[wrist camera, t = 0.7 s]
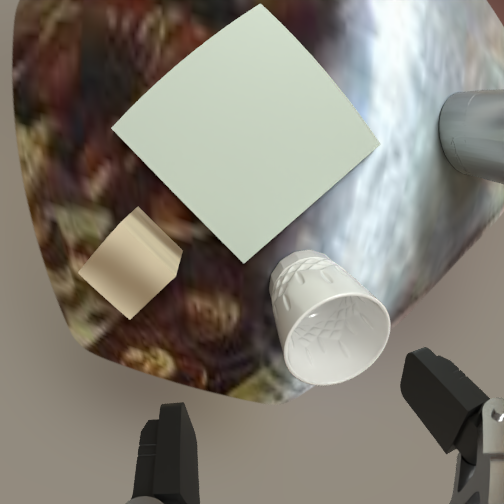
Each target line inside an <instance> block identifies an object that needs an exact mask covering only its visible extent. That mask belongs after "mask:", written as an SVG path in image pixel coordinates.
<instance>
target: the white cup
mask: <svg viewBox="0 0 504 504" xmlns="http://www.w3.org/2000/svg"><path fill="white" fill-rule="evenodd" d="M269 292H270V296H271V300H272V309H273V313H274V318H275V323H276V328H277V331H278V335H279V339H280V343H281V347H282V351H283V355H284V360H285V363H286V366H287V368H288V369H289V371H290V372H291V373H292V375H293V376H295V377H296V378H297V379H299V380H300V381H302V382H305V383H308V384H311V385H318V386H327V385H334V384H339V383H342V382H345V381H348V380H350V379H352V378H354V377H356V376H358V375H359V374H361V373H362V372H364V371H365V370H366V369H367V368H369V367H370V366H371V365H372V364H373V363H374V362H375V361H376V360H377V358H378V357H379V356H380V355H381V353H382V352H383V350H384V348H385V346H386V344H387V341H388V338H389V334H390V317H389V314H388V312H387V310H386V308H385V307H384V305H383V304H382V303H381V302H380V301H379V300H378V299H377V298H376V297H375V296H373V295H372V294H371V293H370V292H369V291H368V290H367V289H366V288H365V287H364V286H363V285H362V284H360V283H359V282H358V281H357V280H356V279H355V278H354V277H353V276H351V275H350V274H349V273H348V272H347V271H345V270H344V269H343V268H342V267H341V266H339V265H337V264H336V263H334V262H333V261H332V260H331V259H330V258H329V257H327V256H326V255H325V254H323V253H320V252H317V251H313V250H304V251H298V252H293V253H292V254H290V255H289V256H287V257H286V258H284V259H282V260H281V261H280V262H279V263H278V265H277V266H276V268H275V269H274V271H273V272H272V274H271V278H270V285H269Z"/></svg>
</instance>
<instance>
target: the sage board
mask: <svg viewBox="0 0 504 504" xmlns="http://www.w3.org/2000/svg"><path fill="white" fill-rule="evenodd" d="M111 129H112V130H113V131H114V132H115V133H116V134H117V135H118V136H119V137H120V138H121V139H122V140H123V141H124V142H125V143H126V144H127V145H128V146H129V147H130V148H131V149H132V150H133V151H134V152H135V153H136V155H137V156H138V157H139V158H140V159H141V160H142V161H143V162H144V163H145V164H146V165H147V166H148V167H149V168H150V169H151V170H152V171H153V172H154V173H155V174H156V175H157V176H158V177H159V178H160V179H161V180H162V181H163V182H164V183H165V184H166V185H167V186H168V187H169V189H170V190H171V191H172V192H173V193H174V194H175V195H176V196H177V197H178V198H179V199H180V200H181V201H182V202H183V203H184V204H185V205H186V206H187V207H188V208H189V209H190V210H191V211H192V212H193V213H194V214H195V215H196V216H197V217H198V218H199V219H200V220H201V221H202V222H203V223H204V224H205V225H206V226H207V227H208V228H209V229H210V230H211V231H212V232H213V233H214V234H215V235H216V236H217V237H218V238H219V239H220V240H221V241H222V242H223V243H224V244H225V245H226V246H227V247H228V248H229V249H230V250H231V251H232V252H233V253H234V254H235V255H236V256H237V257H238V258H239V259H240V260H241V261H242V262H243V263H245V262H246V261H248V260H249V259H250V258H251V257H252V256H253V255H254V254H256V253H257V252H258V251H259V250H260V249H261V248H262V247H264V246H265V245H266V244H267V243H268V242H269V241H270V240H272V239H273V238H274V237H275V236H276V235H277V234H278V233H280V232H281V231H282V230H283V229H284V228H285V227H287V226H288V225H289V224H290V223H291V222H292V221H293V220H295V219H296V218H297V217H298V216H299V215H300V214H301V213H303V212H304V211H305V210H306V209H307V208H308V207H309V206H311V205H312V204H313V203H314V202H315V201H316V200H317V199H319V198H320V197H321V196H322V195H323V194H324V193H325V192H327V191H328V190H329V189H330V188H331V187H332V186H333V185H335V184H336V183H337V182H338V181H339V180H340V179H341V178H343V177H344V176H345V175H346V174H347V173H348V172H349V171H351V170H352V169H353V168H354V167H355V166H356V165H357V164H358V163H360V162H361V161H362V160H363V159H364V158H365V157H366V156H368V155H369V154H370V153H371V152H372V151H373V150H374V149H376V148H377V147H378V146H379V145H380V143H379V141H378V140H377V138H376V137H375V136H374V134H373V133H372V131H371V130H370V128H369V127H368V126H367V124H366V123H365V121H364V120H363V119H362V117H361V116H360V115H359V113H358V112H357V111H356V109H355V108H354V107H353V105H352V104H351V103H350V101H349V100H348V99H347V97H346V96H345V95H344V94H343V92H342V91H341V90H340V89H339V87H338V86H337V85H336V84H335V82H334V81H333V80H332V79H331V78H330V76H329V75H328V74H327V73H326V72H325V70H324V69H323V68H322V67H321V66H320V65H319V63H318V62H317V61H316V60H315V59H314V58H313V57H312V55H311V54H310V53H309V52H308V51H307V50H306V49H305V48H304V47H303V46H302V44H301V43H300V42H299V41H298V40H297V39H296V38H295V37H294V36H293V35H292V34H291V33H290V32H289V31H288V30H287V29H286V28H285V27H284V26H283V25H282V24H281V23H280V22H279V21H278V20H277V19H276V18H275V17H274V16H273V15H272V14H271V13H270V12H269V11H268V10H267V9H266V8H265V7H264V6H263V5H261V4H259V5H258V6H256V7H254V8H253V9H251V10H250V11H248V12H247V13H245V14H244V15H242V16H241V17H239V18H238V19H236V20H235V21H233V22H232V23H231V24H229V25H228V26H226V27H225V28H223V29H222V30H221V31H219V32H218V33H217V34H215V35H214V36H213V37H211V38H210V39H209V40H207V41H206V42H205V43H203V44H202V45H201V46H200V47H198V48H197V49H196V50H195V51H193V52H192V53H191V54H190V55H188V56H187V57H186V58H185V59H183V60H182V61H181V62H180V63H179V64H178V65H176V66H175V67H174V68H173V69H172V70H171V71H169V72H168V73H167V74H166V75H165V76H164V77H163V78H162V79H160V80H159V81H158V82H157V83H156V84H155V85H154V86H153V87H152V88H151V89H150V90H149V91H148V92H146V93H145V94H144V95H143V96H142V97H141V98H140V99H139V100H138V101H137V102H136V103H135V104H134V105H133V106H132V107H131V108H130V109H129V110H128V111H127V112H126V113H125V114H124V115H123V116H122V117H121V118H120V120H119V121H118V122H117V123H116V124H115V125H114V126H113V127H112V128H111Z"/></svg>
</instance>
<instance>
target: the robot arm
mask: <svg viewBox="0 0 504 504" xmlns="http://www.w3.org/2000/svg"><path fill="white" fill-rule="evenodd" d="M439 132H440V140H441V144H442V148H443V150H444V153H445V155H446V157H447V159H448V160H449V162H450V163H451V165H452V166H453V167H454V168H455V169H456V170H458V171H459V172H461V173H464V174H468V175H472V176H476V177H480V178H483V179H487V180H490V181H494V182H498V183H501V184H504V90H480V91H470V92H458V93H455V94H453V95H451V96H450V97H449V98H448V99H447V101H446V102H445V104H444V106H443V108H442V111H441V115H440V121H439ZM400 387H401V392H402V395H403V397H404V399H405V400H406V401H407V403H408V404H409V405H410V407H411V408H412V409H413V410H414V412H415V413H416V414H417V416H418V417H419V418H420V419H421V421H422V422H423V424H424V425H425V426H426V428H427V429H428V430H429V431H430V433H431V434H432V435H433V437H434V438H435V439H436V441H437V442H438V443H439V445H440V446H441V447H442V449H443V450H444V452H445V453H446V454H448V453H450V452H451V451H453V450H455V449H458V450H459V454H458V456H457V464H456V473H455V481H454V488H453V495H452V498H451V501H450V503H449V504H504V399H503V398H493V399H490V398H489V397H488V396H486V394H485V393H484V392H483V391H482V390H481V389H479V388H478V387H477V386H476V385H475V384H474V383H473V382H472V381H471V380H470V379H469V378H468V377H466V376H465V374H464V373H463V372H462V371H461V370H460V371H459V368H458V367H457V366H455V365H454V364H453V363H452V362H451V361H450V360H448V359H445V358H443V357H441V356H436V355H435V354H434V353H433V352H432V351H431V350H430V349H428V348H426V347H424V348H421V349H419V350H416V351H413V352H411V353H408V354H407V356H406V359H405V364H404V369H403V374H402V379H401V384H400ZM139 445H140V446H139V449H138V457H137V464H136V472H135V481H134V490H133V495H132V498H131V500H130V501H128V502H127V503H126V504H200V498H199V479H198V457H197V441H196V436H195V432H194V428H193V426H192V423H191V421H190V418H189V415H188V412H187V410H186V407H185V404H184V403H183V402H182V403H171V404H162V405H161V407H160V415H159V420H148V422H147V423H146V425H145V426H144V428H143V429H142V431H141V436H140V442H139Z"/></svg>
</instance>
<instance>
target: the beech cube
mask: <svg viewBox="0 0 504 504" xmlns="http://www.w3.org/2000/svg"><path fill="white" fill-rule="evenodd" d="M182 252H183V250H182V249H181V248H180V247H179V246H178V245H176V244H175V243H174V242H173V241H172V240H171V239H170V238H169V237H168V236H167V235H166V234H165V233H164V232H163V231H162V230H161V229H160V228H159V227H158V226H157V225H156V224H155V223H154V222H153V221H152V220H151V219H150V218H149V217H148V216H147V215H146V214H145V213H144V212H143V211H142V210H141V209H140V208H139V207H137V208H136V209H135V210H134V211H133V212H131V213H130V214H129V215H128V216H127V217H126V218H125V219H124V220H123V221H122V222H121V223H120V224H119V225H118V226H117V227H116V228H115V229H114V230H113V232H112V233H111V234H110V235H109V236H108V237H107V238H106V240H105V241H104V242H103V243H102V244H101V245H100V247H99V248H98V249H97V250H96V251H95V252H94V254H93V255H92V256H91V257H90V258H89V260H88V261H87V262H86V263H85V265H84V266H83V267H82V268H81V269H80V271H79V272H78V273H79V274H80V275H81V276H82V277H83V278H84V279H85V280H86V281H87V282H88V283H89V284H90V285H91V286H92V287H93V288H95V289H96V290H97V291H98V292H99V293H100V294H101V295H102V296H103V297H104V298H105V299H107V300H108V301H109V302H110V303H111V304H112V305H113V306H114V307H116V308H117V309H118V310H119V311H120V312H121V313H122V314H124V315H125V316H126V317H127V318H128V319H129V320H130V319H131V318H132V317H133V316H135V315H136V314H137V313H138V312H139V311H140V310H141V309H142V308H143V307H144V306H145V305H146V304H147V303H148V302H149V301H150V300H151V299H152V298H153V297H154V296H155V295H156V294H158V293H159V292H160V291H161V290H162V289H163V288H164V287H165V286H166V285H167V284H168V283H169V282H170V281H171V280H172V279H173V278H175V277H176V274H177V270H178V267H179V263H180V259H181V255H182Z"/></svg>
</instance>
